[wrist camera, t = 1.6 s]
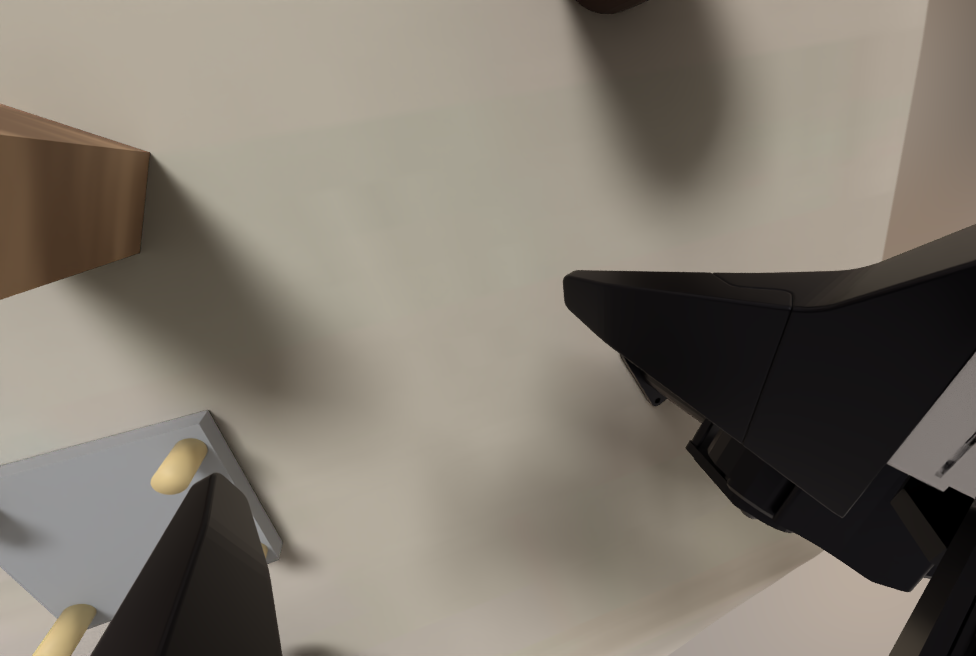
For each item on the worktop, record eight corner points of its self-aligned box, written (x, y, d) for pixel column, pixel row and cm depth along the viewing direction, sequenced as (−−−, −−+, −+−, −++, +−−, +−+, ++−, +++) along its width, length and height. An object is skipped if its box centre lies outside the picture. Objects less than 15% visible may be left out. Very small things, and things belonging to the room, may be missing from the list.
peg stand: (208, 410, 19) (178, 453, 16) (282, 542, 23) (271, 596, 20) (-47, 478, 17) (-136, 543, 14) (88, 611, 21) (42, 683, 18)
